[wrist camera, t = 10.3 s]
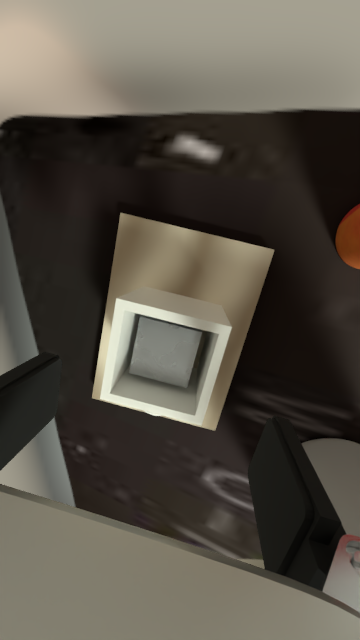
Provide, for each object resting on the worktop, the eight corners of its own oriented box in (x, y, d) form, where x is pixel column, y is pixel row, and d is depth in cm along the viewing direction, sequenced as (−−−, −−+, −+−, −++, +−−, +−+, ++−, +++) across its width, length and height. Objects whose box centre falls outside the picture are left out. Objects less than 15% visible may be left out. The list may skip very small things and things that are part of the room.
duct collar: (221, 305, 20) (232, 327, 13) (193, 402, 23) (190, 461, 16) (144, 286, 20) (116, 297, 14) (125, 384, 23) (93, 435, 16)
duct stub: (201, 315, 21) (202, 332, 16) (190, 359, 22) (186, 388, 17) (154, 303, 21) (140, 316, 16) (144, 348, 22) (128, 373, 17)
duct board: (269, 250, 20) (274, 249, 19) (214, 420, 25) (215, 430, 23) (126, 216, 20) (120, 212, 19) (98, 390, 25) (91, 398, 24)
